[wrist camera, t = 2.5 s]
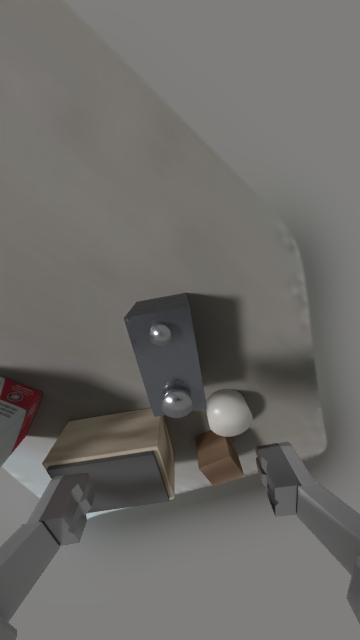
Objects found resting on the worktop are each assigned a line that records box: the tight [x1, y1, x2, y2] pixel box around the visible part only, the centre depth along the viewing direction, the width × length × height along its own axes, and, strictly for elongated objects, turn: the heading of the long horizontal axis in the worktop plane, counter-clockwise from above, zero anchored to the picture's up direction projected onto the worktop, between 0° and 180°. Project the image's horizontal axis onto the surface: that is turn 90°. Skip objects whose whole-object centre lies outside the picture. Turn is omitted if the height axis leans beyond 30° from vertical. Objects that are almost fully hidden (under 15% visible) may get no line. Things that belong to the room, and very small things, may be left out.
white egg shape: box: [206, 389, 252, 437], centre depth 22 cm, size 5×5×2 cm
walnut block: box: [196, 430, 244, 486], centre depth 23 cm, size 4×4×4 cm
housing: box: [124, 293, 207, 418], centre depth 17 cm, size 10×5×6 cm, turn 10°
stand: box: [42, 408, 174, 513], centre depth 22 cm, size 9×12×5 cm
